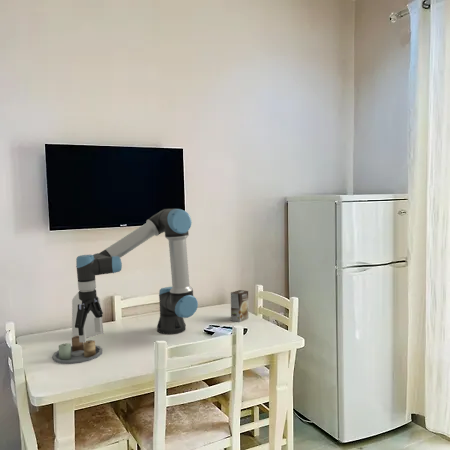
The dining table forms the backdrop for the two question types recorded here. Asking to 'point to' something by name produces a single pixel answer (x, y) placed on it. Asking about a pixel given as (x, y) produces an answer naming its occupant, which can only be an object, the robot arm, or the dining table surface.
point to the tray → (77, 356)
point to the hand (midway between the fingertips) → (90, 336)
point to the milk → (89, 321)
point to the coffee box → (239, 305)
